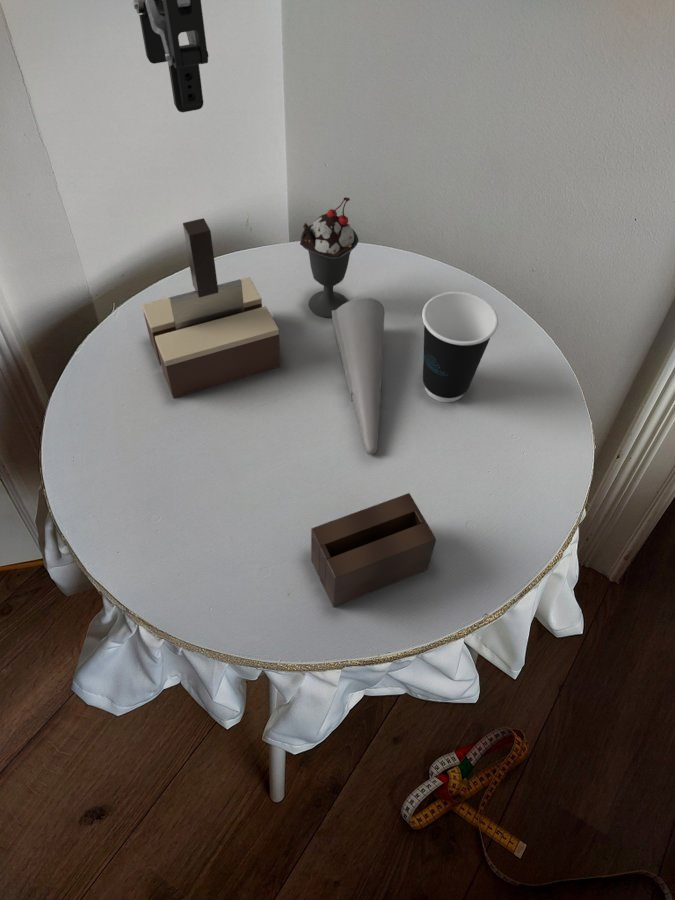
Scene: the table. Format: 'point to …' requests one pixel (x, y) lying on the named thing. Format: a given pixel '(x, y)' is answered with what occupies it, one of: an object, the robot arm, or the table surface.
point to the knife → (204, 283)
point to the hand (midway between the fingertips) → (174, 83)
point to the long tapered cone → (362, 361)
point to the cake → (213, 344)
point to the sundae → (328, 257)
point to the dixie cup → (454, 342)
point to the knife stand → (371, 549)
